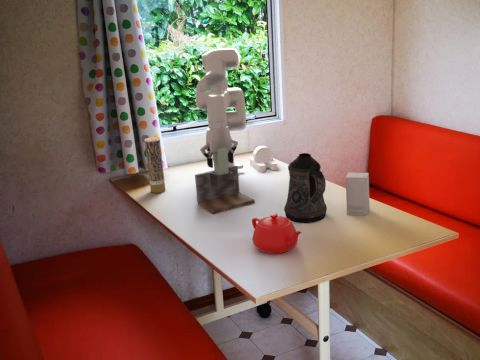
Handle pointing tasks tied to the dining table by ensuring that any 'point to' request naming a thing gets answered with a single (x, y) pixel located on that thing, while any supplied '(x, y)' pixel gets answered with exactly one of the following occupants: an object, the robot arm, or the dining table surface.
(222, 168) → the rail post
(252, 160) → the white slotted holder
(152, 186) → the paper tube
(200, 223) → the dining table surface
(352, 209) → the skincare box
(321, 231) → the dining table surface
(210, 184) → the bracket stand
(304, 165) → the beer stein
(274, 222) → the teapot
